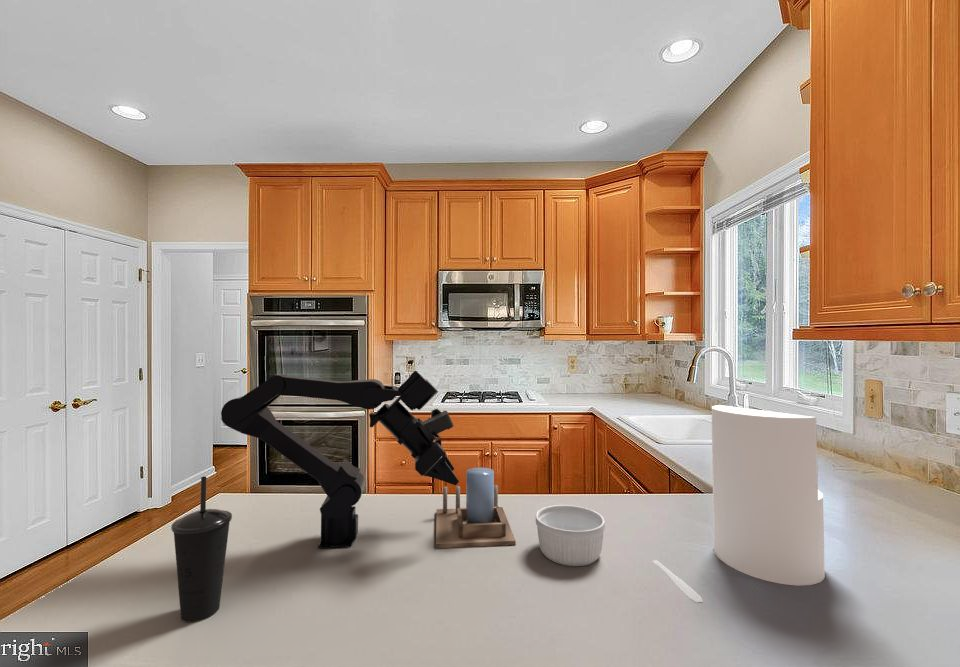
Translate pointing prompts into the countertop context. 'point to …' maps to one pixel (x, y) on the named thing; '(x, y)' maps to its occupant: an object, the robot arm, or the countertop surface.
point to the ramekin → (570, 534)
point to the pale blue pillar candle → (479, 495)
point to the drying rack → (471, 526)
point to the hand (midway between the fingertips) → (455, 476)
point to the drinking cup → (200, 559)
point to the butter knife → (680, 584)
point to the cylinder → (767, 495)
